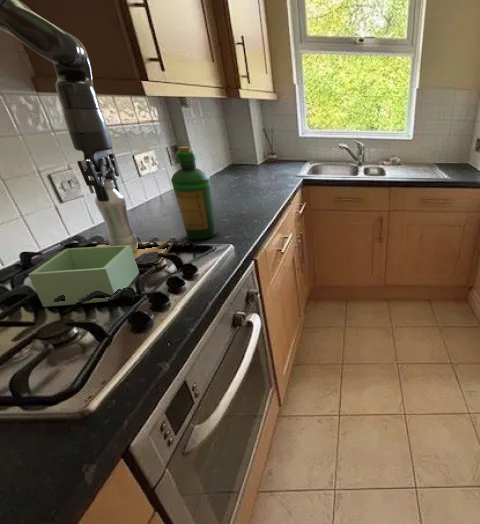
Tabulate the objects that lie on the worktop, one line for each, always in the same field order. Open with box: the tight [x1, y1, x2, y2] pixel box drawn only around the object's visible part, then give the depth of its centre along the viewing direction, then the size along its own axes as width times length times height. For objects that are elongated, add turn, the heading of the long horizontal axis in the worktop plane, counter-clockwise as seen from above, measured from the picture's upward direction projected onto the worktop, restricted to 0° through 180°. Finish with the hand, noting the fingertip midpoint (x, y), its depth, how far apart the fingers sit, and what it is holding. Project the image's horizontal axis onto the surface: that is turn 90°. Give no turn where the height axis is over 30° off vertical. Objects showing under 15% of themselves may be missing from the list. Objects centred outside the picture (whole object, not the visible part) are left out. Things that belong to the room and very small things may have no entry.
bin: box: [27, 245, 140, 308], centre depth 76 cm, size 14×14×8 cm
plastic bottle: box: [94, 179, 139, 251], centre depth 89 cm, size 6×7×20 cm
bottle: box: [170, 146, 217, 241], centre depth 103 cm, size 11×11×28 cm
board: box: [95, 240, 174, 265], centre depth 94 cm, size 20×14×1 cm
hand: (109, 197), depth 87 cm, fingers closed on plastic bottle, 6 cm apart
